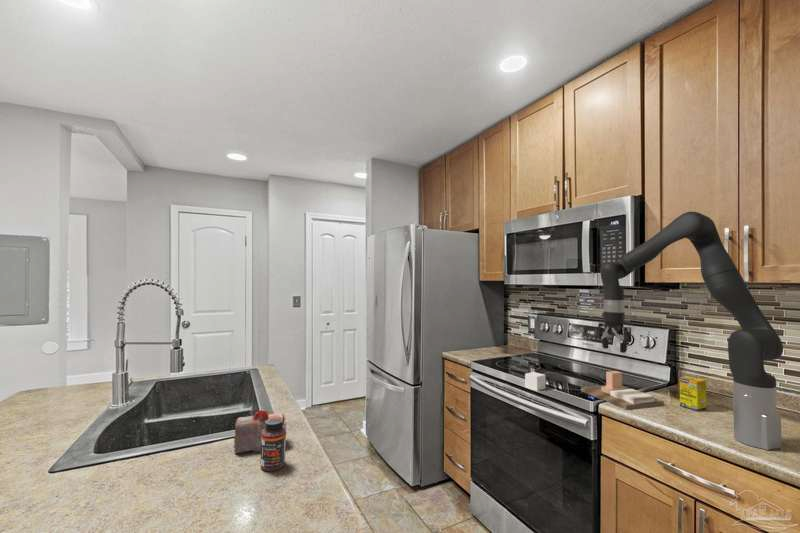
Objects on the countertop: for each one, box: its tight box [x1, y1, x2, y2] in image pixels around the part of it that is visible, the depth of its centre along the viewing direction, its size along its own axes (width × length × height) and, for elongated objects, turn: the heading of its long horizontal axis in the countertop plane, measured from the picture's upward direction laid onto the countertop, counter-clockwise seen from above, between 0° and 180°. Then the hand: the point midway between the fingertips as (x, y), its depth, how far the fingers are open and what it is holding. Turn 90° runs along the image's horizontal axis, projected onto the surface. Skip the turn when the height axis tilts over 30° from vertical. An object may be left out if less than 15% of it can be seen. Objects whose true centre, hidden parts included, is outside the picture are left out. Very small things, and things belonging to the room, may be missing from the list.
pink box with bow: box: [233, 410, 288, 455], centre depth 103 cm, size 14×8×10 cm, turn 113°
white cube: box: [524, 371, 546, 392], centre depth 159 cm, size 6×6×6 cm
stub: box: [601, 370, 629, 394], centre depth 149 cm, size 4×10×8 cm, turn 106°
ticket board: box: [580, 384, 665, 410], centre depth 147 cm, size 22×18×4 cm
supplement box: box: [679, 375, 707, 412], centre depth 137 cm, size 6×6×11 cm
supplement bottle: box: [260, 418, 287, 472], centre depth 93 cm, size 6×6×11 cm
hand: (614, 350), depth 150 cm, fingers open, 8 cm apart
